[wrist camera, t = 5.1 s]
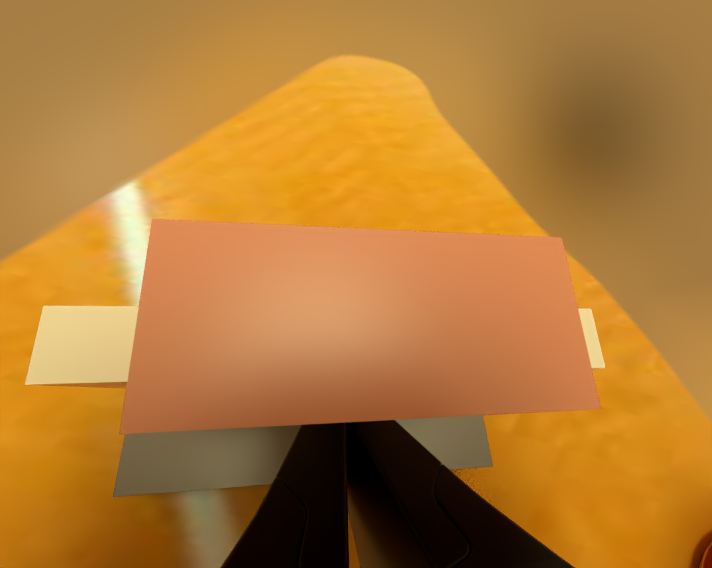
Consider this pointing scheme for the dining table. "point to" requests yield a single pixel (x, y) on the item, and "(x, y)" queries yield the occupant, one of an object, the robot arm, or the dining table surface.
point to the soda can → (707, 558)
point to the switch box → (266, 454)
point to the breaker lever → (329, 329)
